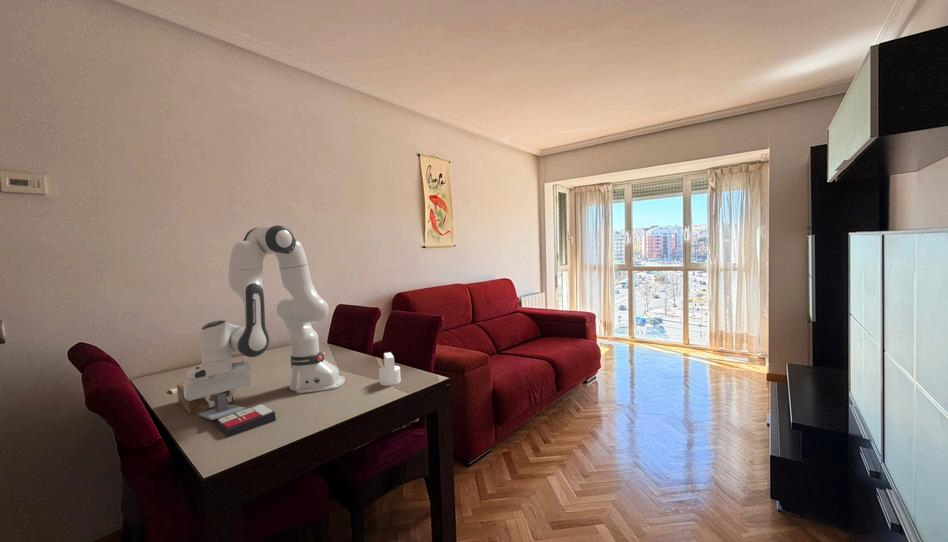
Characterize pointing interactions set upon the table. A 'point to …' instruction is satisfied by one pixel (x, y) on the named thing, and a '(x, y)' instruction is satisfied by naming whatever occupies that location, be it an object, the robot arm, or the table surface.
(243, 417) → the black red flat block
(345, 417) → the table surface
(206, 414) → the cover plate
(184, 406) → the walnut box
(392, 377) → the cylinder with rectangular tab
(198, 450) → the table surface
